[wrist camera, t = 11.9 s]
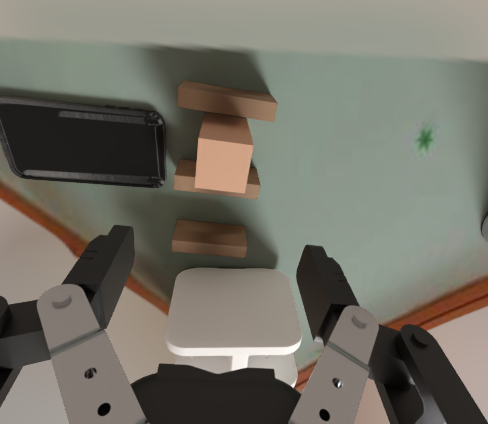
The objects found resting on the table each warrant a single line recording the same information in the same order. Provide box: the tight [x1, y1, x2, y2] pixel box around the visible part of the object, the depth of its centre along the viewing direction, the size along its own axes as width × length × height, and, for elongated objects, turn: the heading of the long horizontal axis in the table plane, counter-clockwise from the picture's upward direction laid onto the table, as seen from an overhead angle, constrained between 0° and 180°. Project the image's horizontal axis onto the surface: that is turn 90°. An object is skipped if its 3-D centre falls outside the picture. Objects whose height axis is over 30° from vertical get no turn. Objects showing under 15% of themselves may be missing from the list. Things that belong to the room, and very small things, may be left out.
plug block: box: [195, 112, 253, 193], centre depth 25 cm, size 4×4×8 cm
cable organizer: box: [165, 268, 303, 388], centre depth 35 cm, size 15×11×12 cm
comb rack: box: [172, 80, 278, 258], centre depth 29 cm, size 8×16×4 cm, turn 170°
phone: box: [0, 96, 166, 188], centre depth 28 cm, size 8×1×15 cm
